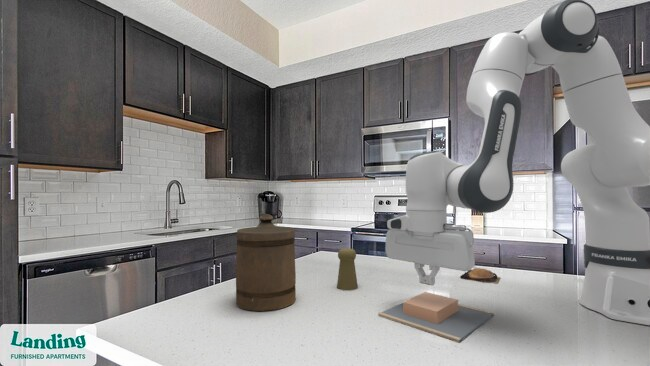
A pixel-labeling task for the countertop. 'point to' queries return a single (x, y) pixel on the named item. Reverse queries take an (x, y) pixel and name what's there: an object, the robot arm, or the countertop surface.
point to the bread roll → (481, 276)
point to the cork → (347, 270)
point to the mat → (450, 327)
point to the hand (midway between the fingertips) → (427, 283)
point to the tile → (430, 307)
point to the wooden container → (265, 266)
